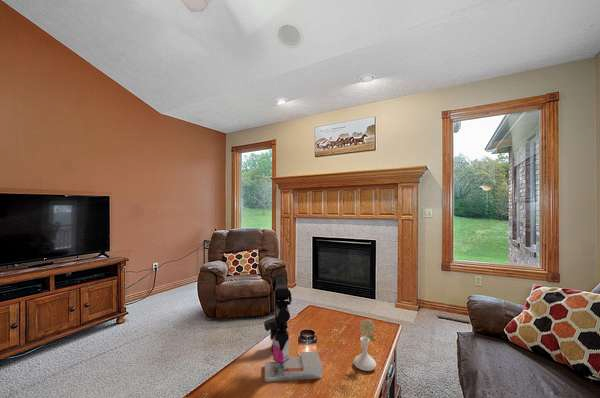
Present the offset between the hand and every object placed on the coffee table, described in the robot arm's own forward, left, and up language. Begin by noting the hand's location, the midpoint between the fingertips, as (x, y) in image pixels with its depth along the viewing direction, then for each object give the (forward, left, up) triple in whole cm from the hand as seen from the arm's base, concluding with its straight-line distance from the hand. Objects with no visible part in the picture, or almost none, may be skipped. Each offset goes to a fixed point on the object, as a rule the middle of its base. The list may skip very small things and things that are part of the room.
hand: (281, 345), depth 128 cm
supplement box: (0, 0, -7) cm, 7 cm away
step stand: (0, +6, -13) cm, 14 cm away
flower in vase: (0, +43, -13) cm, 45 cm away
